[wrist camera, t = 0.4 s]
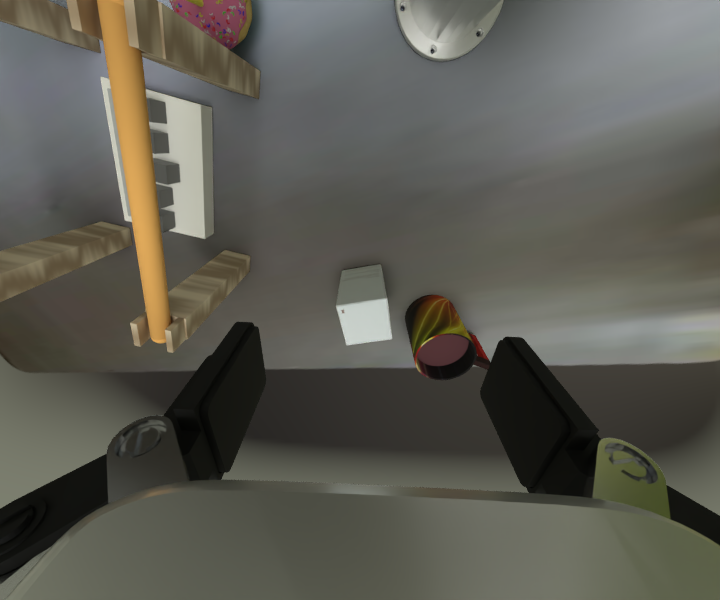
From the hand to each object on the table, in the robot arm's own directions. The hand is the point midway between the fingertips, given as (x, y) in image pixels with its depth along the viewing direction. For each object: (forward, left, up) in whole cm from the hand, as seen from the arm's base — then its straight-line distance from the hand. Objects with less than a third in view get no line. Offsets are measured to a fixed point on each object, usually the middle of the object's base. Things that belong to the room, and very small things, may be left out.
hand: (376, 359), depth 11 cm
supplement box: (+15, +3, -37) cm, 40 cm away
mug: (+18, +19, -38) cm, 46 cm away
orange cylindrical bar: (+3, -20, -16) cm, 26 cm away
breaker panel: (+3, -30, -37) cm, 48 cm away
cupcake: (-16, -22, -37) cm, 46 cm away
